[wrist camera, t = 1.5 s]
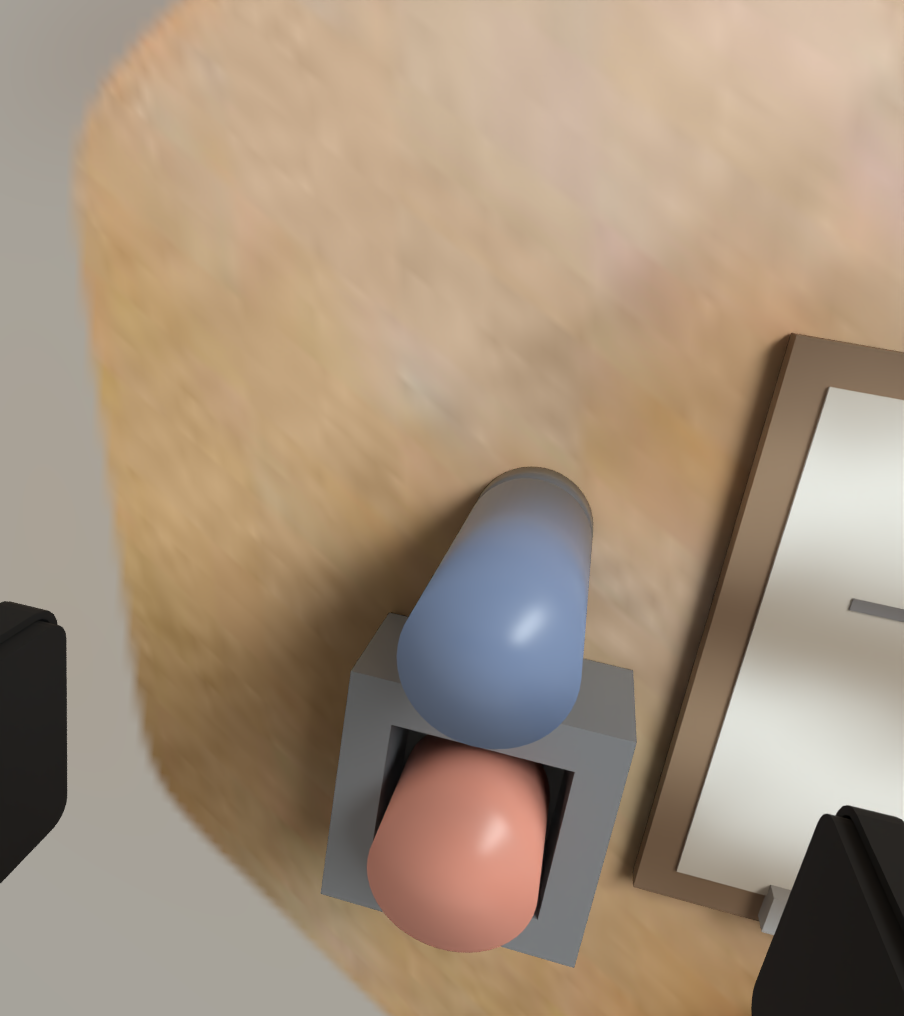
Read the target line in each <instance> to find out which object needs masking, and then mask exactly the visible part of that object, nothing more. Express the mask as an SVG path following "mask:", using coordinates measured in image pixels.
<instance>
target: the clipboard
mask: <svg viewBox="0 0 904 1016" xmlns="http://www.w3.org/2000/svg"><path fill="white" fill-rule="evenodd" d="M845 805H850V806H854V807H858V808H862V809H866V810H870V811H875V812H879V813H883V814H887V815H891V816H895V817H898V818H900V819H902V820H903V821H904V352H898V351H892V350H887V349H881V348H875V347H870V346H864V345H858V344H852V343H847V342H841V341H835V340H830V339H824V338H818V337H813V336H807V335H801V334H795V333H791V335H790V339H789V342H788V346H787V349H786V352H785V356H784V359H783V363H782V366H781V369H780V373H779V376H778V380H777V383H776V386H775V390H774V393H773V397H772V400H771V403H770V407H769V410H768V414H767V417H766V420H765V424H764V427H763V431H762V434H761V437H760V441H759V444H758V448H757V451H756V454H755V458H754V461H753V465H752V468H751V472H750V475H749V478H748V482H747V485H746V489H745V492H744V495H743V499H742V502H741V506H740V509H739V512H738V516H737V519H736V523H735V526H734V529H733V533H732V536H731V540H730V543H729V546H728V550H727V553H726V557H725V560H724V563H723V567H722V570H721V574H720V577H719V580H718V584H717V587H716V591H715V594H714V597H713V601H712V604H711V608H710V611H709V614H708V618H707V621H706V625H705V628H704V631H703V635H702V638H701V642H700V645H699V649H698V652H697V655H696V659H695V662H694V666H693V669H692V672H691V676H690V679H689V683H688V686H687V689H686V693H685V696H684V700H683V703H682V706H681V710H680V713H679V717H678V720H677V723H676V727H675V730H674V734H673V737H672V740H671V744H670V747H669V751H668V754H667V757H666V761H665V764H664V768H663V771H662V774H661V778H660V781H659V785H658V788H657V791H656V795H655V798H654V802H653V805H652V808H651V812H650V815H649V819H648V822H647V826H646V829H645V832H644V836H643V839H642V843H641V846H640V849H639V853H638V856H637V860H636V863H635V866H634V870H633V887H636V888H640V889H643V890H647V891H650V892H654V893H658V894H661V895H665V896H669V897H672V898H676V899H680V900H683V901H687V902H690V903H694V904H698V905H701V906H705V907H709V908H712V909H716V910H719V911H723V912H727V913H730V914H734V915H738V916H741V917H745V918H749V919H752V920H756V921H759V922H760V927H761V931H762V932H764V933H768V934H771V935H774V934H775V931H776V929H777V926H778V924H779V921H780V918H781V916H782V913H783V911H784V908H785V905H786V903H787V900H788V898H789V895H790V892H791V890H792V887H793V885H794V882H795V880H796V877H797V874H798V872H799V869H800V867H801V864H802V861H803V859H804V856H805V854H806V851H807V848H808V846H809V843H810V841H811V838H812V836H813V833H814V830H815V828H816V825H817V823H818V821H819V819H820V817H821V816H822V815H823V814H831V815H836V813H837V811H838V810H839V809H840V808H841V807H842V806H845Z"/></svg>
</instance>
